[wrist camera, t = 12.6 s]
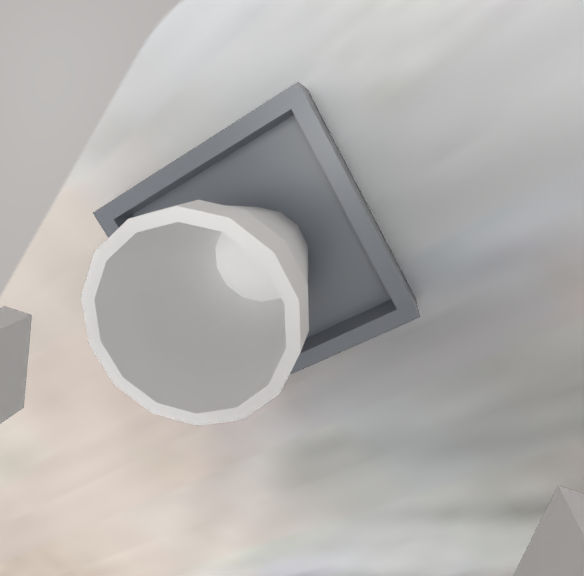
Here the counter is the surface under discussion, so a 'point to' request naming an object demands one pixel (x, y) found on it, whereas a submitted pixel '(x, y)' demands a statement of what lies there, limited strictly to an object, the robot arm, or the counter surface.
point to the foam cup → (199, 309)
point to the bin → (292, 216)
